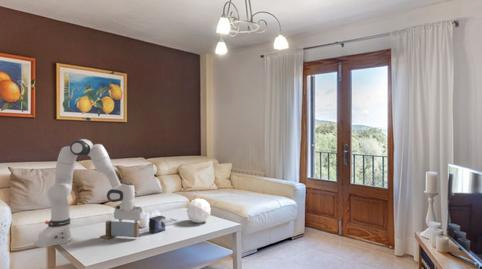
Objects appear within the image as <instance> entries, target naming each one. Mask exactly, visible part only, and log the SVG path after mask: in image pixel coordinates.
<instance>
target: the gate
mask: <svg viewBox="0 0 482 269" xmlns="http://www.w3.org/2000/svg"><path fill="white" fill-rule="evenodd" d="M111 221H112V222H111V236H117V237H121V238H122V237H124V238H136V239H138V238H139V237H140V236H139V235H140V234H139V232H140V231H139V230H140V227H139V226H140V225H139V223H140V222H137V223H135V222H131V221H130V222H128V221H122V222H119V221H113V220H111Z"/></svg>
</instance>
